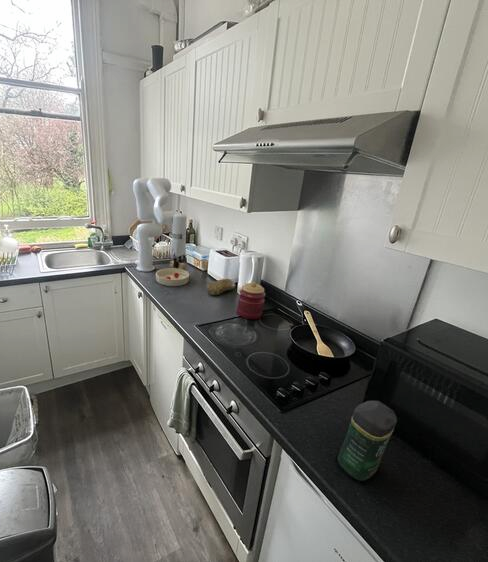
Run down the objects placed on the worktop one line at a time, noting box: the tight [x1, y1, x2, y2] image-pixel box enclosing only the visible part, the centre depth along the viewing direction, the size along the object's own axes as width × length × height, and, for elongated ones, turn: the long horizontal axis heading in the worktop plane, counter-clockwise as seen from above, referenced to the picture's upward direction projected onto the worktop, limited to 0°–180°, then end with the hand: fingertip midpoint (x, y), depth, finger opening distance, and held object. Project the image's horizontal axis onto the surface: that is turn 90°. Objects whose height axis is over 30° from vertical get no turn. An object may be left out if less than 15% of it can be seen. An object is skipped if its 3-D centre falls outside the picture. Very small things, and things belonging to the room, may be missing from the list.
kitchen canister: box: [236, 281, 266, 320], centre depth 150 cm, size 13×13×18 cm
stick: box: [168, 260, 187, 270], centre depth 173 cm, size 10×3×3 cm, turn 60°
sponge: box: [206, 278, 236, 296], centre depth 176 cm, size 13×8×20 cm
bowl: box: [155, 267, 190, 287], centre depth 189 cm, size 21×21×4 cm
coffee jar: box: [337, 400, 398, 482], centre depth 73 cm, size 10×8×19 cm
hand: (177, 266), depth 173 cm, fingers closed on stick, 2 cm apart
